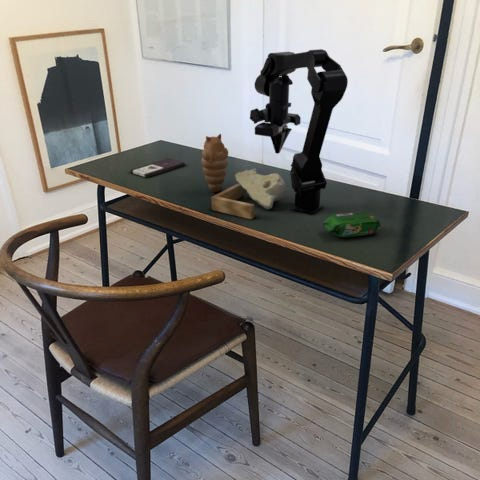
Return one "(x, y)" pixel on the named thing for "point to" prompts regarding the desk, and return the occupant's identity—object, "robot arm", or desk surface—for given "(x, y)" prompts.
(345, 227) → the snack package
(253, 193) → the pale lumpy rock
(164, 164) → the chocolate bar
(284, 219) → the desk surface
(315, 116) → the robot arm
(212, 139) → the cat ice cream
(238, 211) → the corner stop
